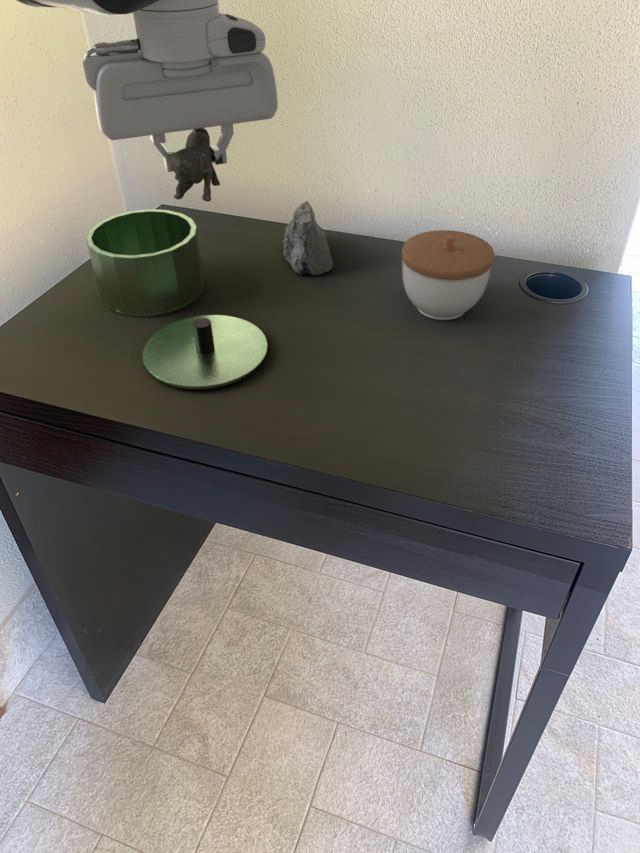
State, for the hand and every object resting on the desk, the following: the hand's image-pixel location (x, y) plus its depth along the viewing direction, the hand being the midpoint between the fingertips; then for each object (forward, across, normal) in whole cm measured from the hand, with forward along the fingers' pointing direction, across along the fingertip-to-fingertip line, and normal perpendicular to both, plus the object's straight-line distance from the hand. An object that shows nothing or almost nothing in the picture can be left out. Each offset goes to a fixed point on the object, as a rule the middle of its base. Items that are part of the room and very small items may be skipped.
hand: (196, 166), depth 81 cm
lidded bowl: (+23, +32, -7) cm, 40 cm away
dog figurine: (+3, -1, -1) cm, 3 cm away
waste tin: (+23, -6, +15) cm, 28 cm away
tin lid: (+22, -3, -5) cm, 23 cm away
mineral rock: (+23, +20, +15) cm, 34 cm away
